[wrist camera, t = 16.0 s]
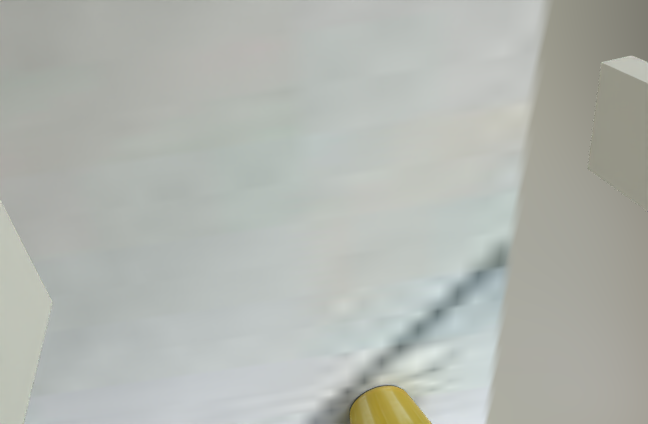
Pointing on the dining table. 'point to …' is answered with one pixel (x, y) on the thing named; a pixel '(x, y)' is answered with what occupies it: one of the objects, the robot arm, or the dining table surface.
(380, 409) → the plant pot
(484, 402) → the dining table surface
